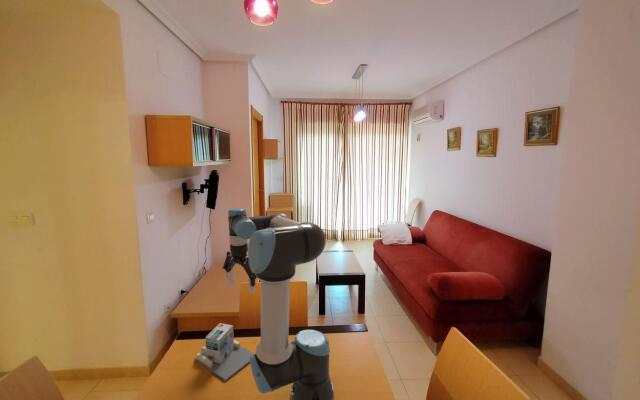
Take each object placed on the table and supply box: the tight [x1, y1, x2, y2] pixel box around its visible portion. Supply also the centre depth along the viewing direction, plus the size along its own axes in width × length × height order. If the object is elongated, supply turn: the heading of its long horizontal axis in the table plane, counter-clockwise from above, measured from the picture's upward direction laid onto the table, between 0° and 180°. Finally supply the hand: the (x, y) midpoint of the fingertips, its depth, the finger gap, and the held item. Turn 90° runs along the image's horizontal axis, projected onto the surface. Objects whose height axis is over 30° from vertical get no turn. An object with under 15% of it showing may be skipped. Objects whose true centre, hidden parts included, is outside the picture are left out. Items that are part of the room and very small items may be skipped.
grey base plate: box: [193, 339, 255, 382], centre depth 124 cm, size 20×16×5 cm
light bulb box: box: [204, 322, 235, 364], centre depth 124 cm, size 11×7×11 cm, turn 165°
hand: (241, 288), depth 134 cm, fingers open, 13 cm apart
